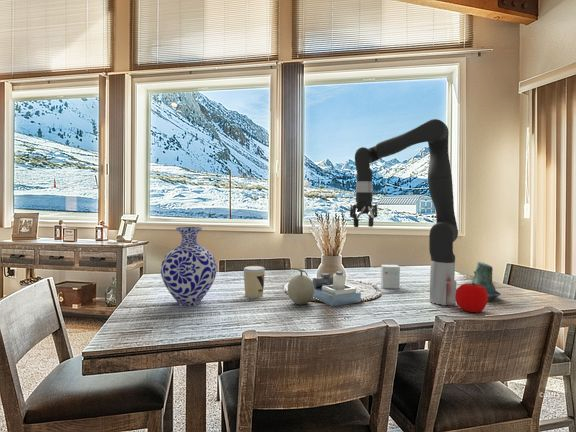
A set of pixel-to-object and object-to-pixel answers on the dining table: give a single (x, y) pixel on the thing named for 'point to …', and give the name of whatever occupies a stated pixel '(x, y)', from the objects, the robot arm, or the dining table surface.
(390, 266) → the small box
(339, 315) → the dining table surface
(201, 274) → the vase
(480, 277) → the tree stump
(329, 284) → the motor housing
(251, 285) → the coffee cup
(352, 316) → the dining table surface
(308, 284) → the fruit
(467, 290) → the tomato
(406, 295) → the dining table surface
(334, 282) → the pump module
